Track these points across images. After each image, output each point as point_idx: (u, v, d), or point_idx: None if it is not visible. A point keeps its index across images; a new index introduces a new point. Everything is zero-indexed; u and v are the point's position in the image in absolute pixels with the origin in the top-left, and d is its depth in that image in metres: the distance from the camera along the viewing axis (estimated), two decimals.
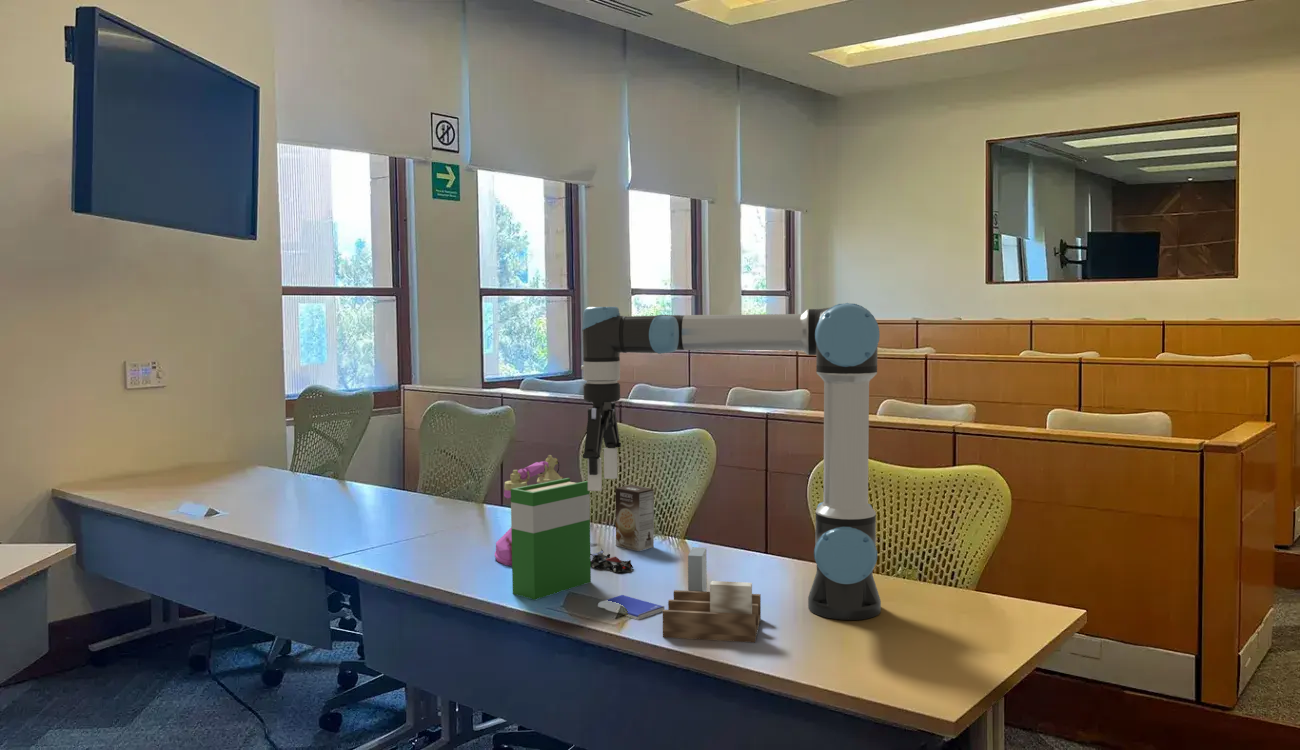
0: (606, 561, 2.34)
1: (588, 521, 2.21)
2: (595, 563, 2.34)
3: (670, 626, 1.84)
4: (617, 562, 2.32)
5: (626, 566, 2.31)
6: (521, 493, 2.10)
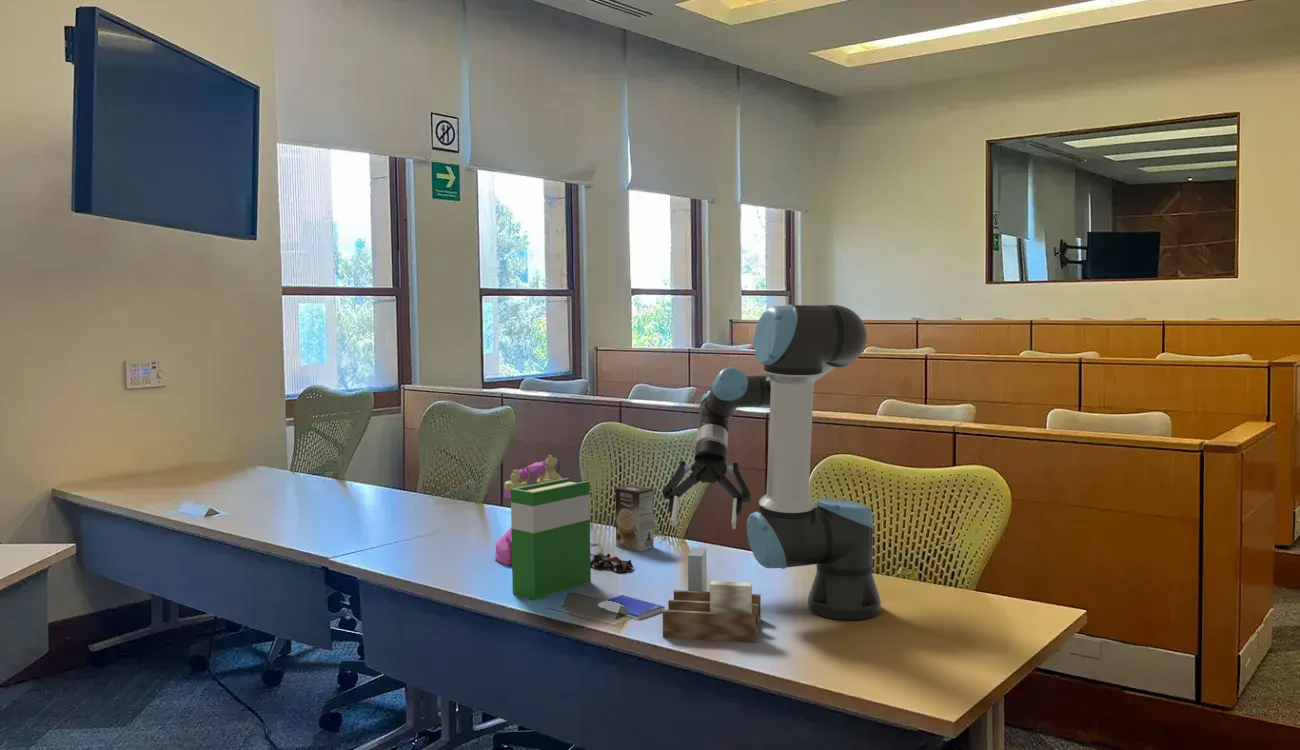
0: (606, 561, 2.34)
1: (588, 521, 2.21)
2: (595, 563, 2.34)
3: (670, 626, 1.84)
4: (617, 562, 2.32)
5: (627, 566, 2.31)
6: (521, 493, 2.10)
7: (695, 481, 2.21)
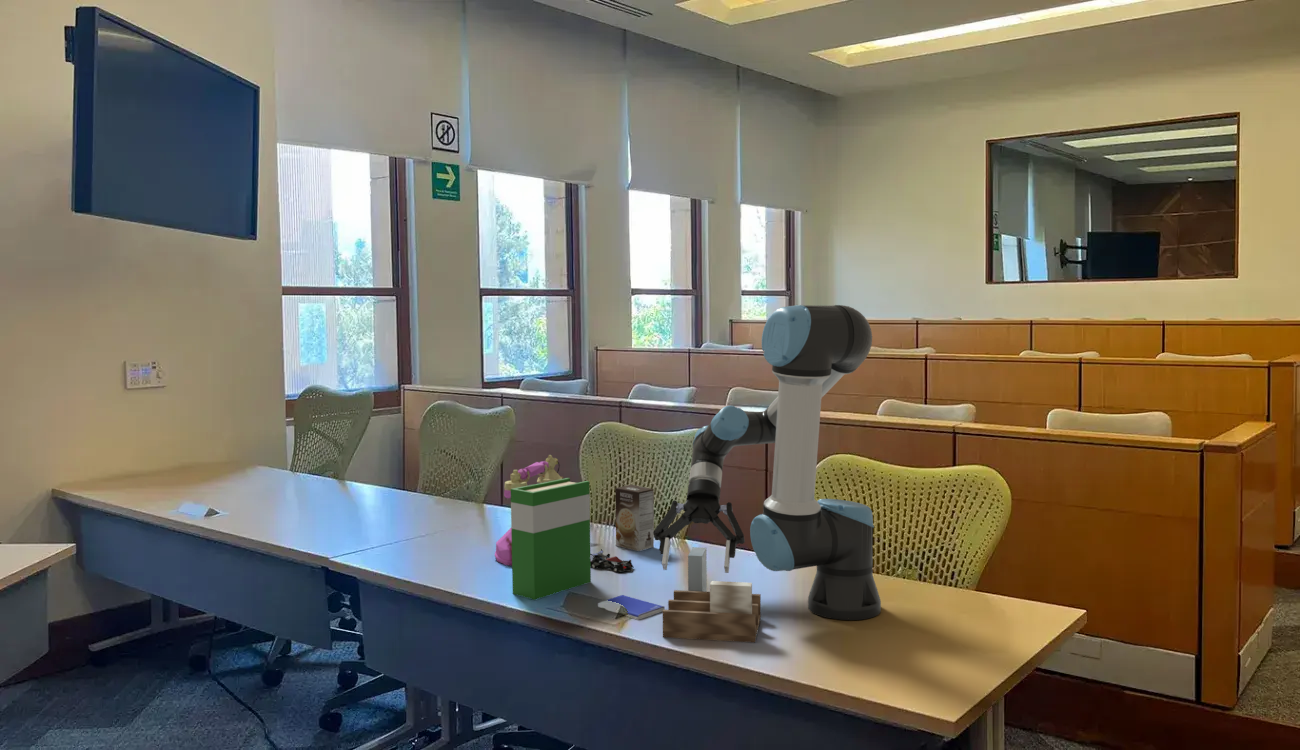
0: (606, 561, 2.34)
1: (588, 521, 2.21)
2: (595, 563, 2.34)
3: (670, 626, 1.84)
4: (618, 562, 2.32)
5: (627, 566, 2.31)
6: (521, 493, 2.10)
7: (687, 522, 2.13)
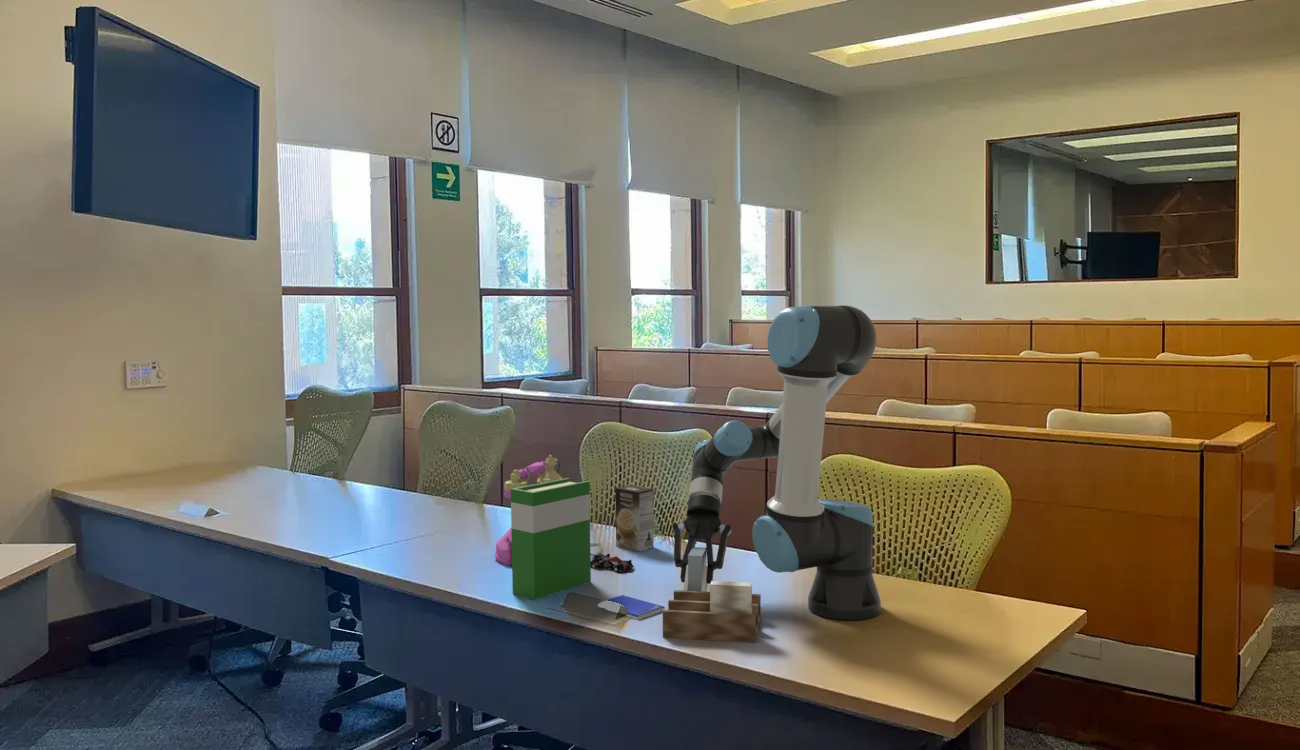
0: (607, 561, 2.34)
1: (588, 521, 2.21)
2: (596, 563, 2.34)
3: (670, 626, 1.84)
4: (618, 562, 2.33)
5: (627, 566, 2.31)
6: (521, 493, 2.10)
7: (695, 540, 2.09)
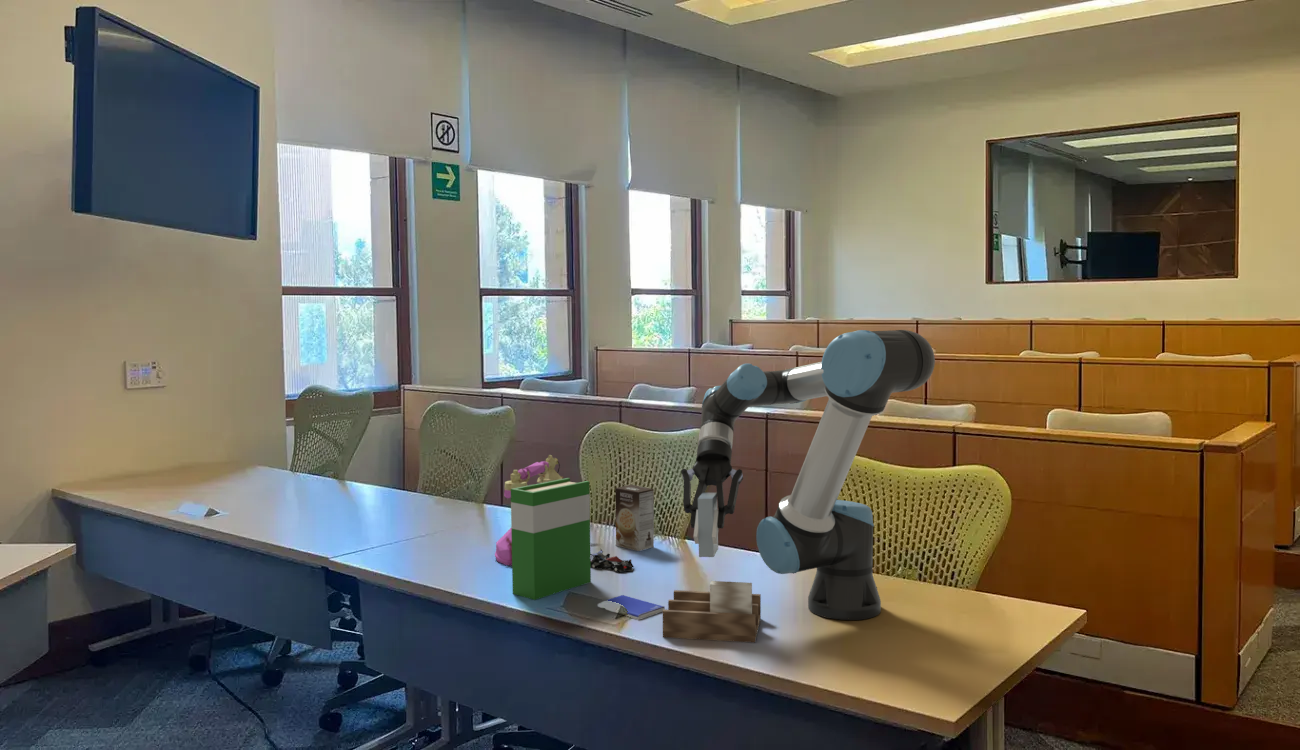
0: (606, 561, 2.34)
1: (588, 521, 2.21)
2: (595, 563, 2.34)
3: (670, 626, 1.84)
4: (618, 562, 2.33)
5: (627, 565, 2.31)
6: (521, 493, 2.10)
7: (705, 486, 2.01)
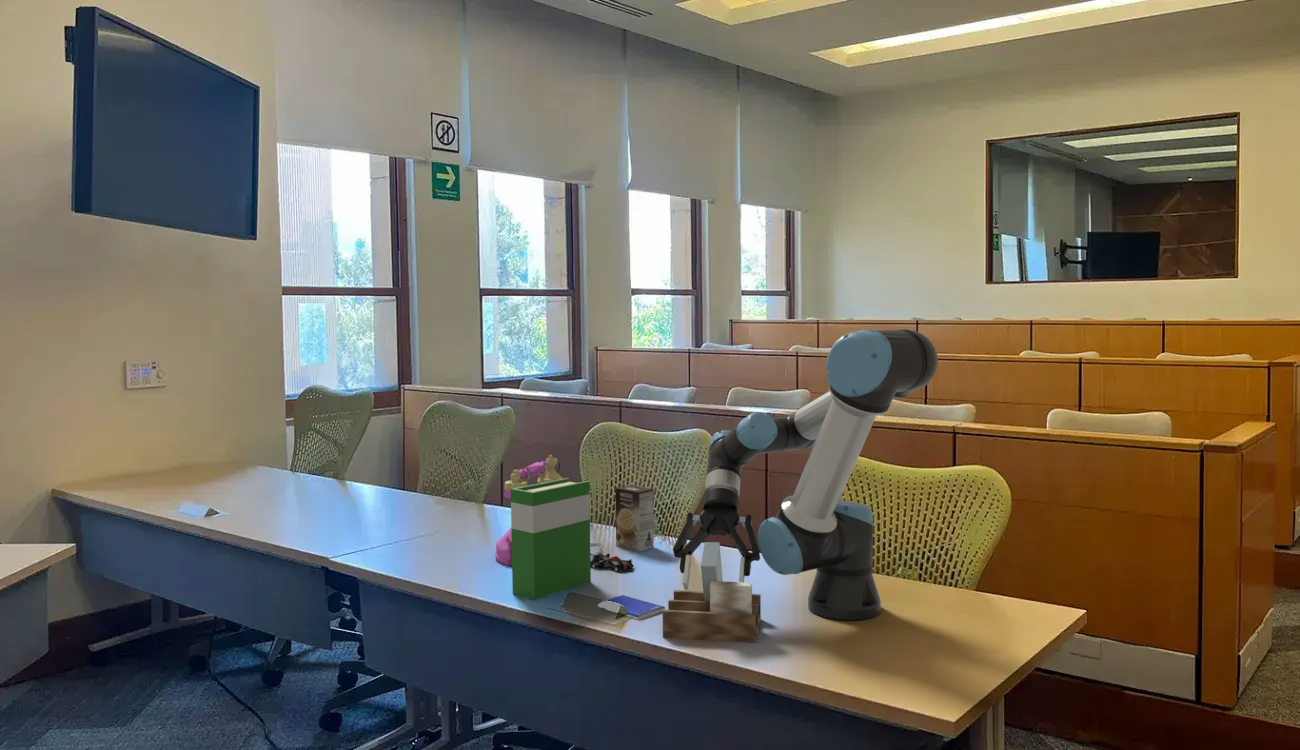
0: (607, 561, 2.34)
1: (588, 521, 2.21)
2: (596, 563, 2.34)
3: (670, 626, 1.84)
4: (618, 561, 2.33)
5: (627, 565, 2.32)
6: (521, 493, 2.10)
7: (706, 534, 1.99)
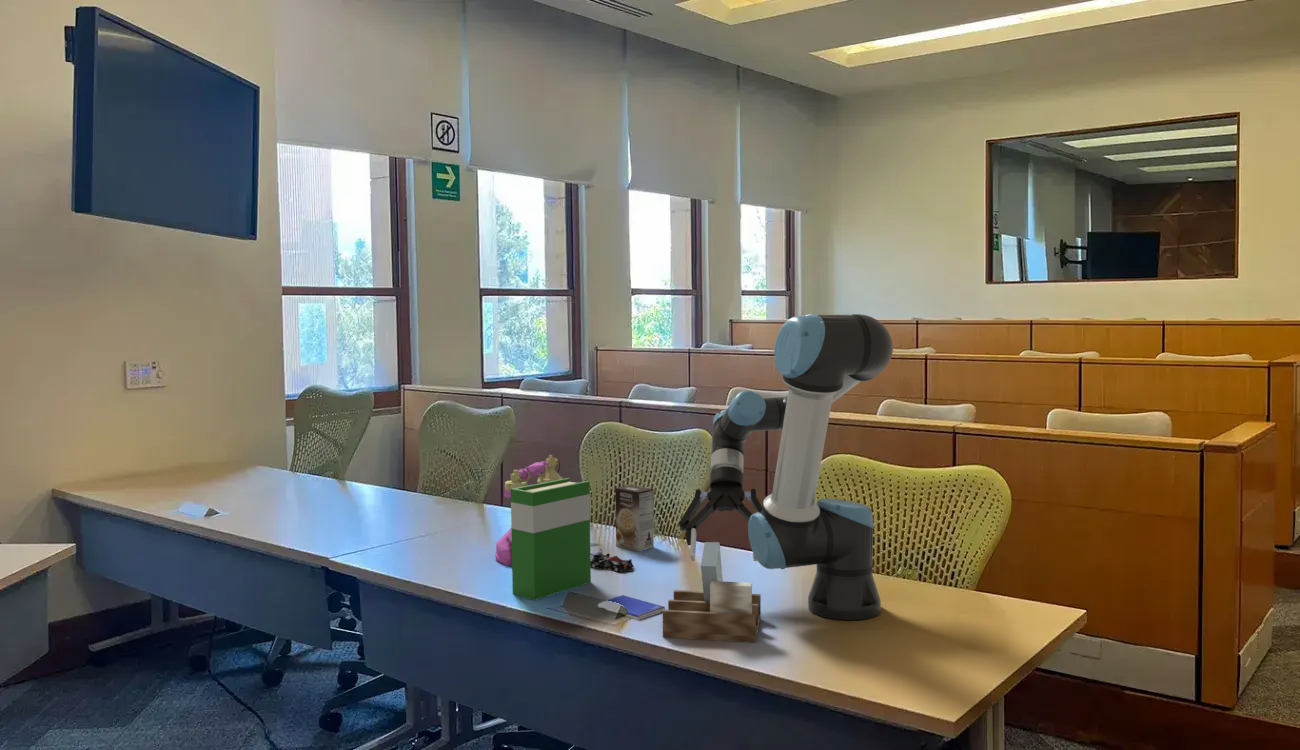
0: (607, 561, 2.34)
1: (588, 521, 2.21)
2: (596, 563, 2.34)
3: (670, 626, 1.84)
4: (618, 561, 2.33)
5: (627, 565, 2.32)
6: (521, 493, 2.10)
7: (712, 510, 2.12)
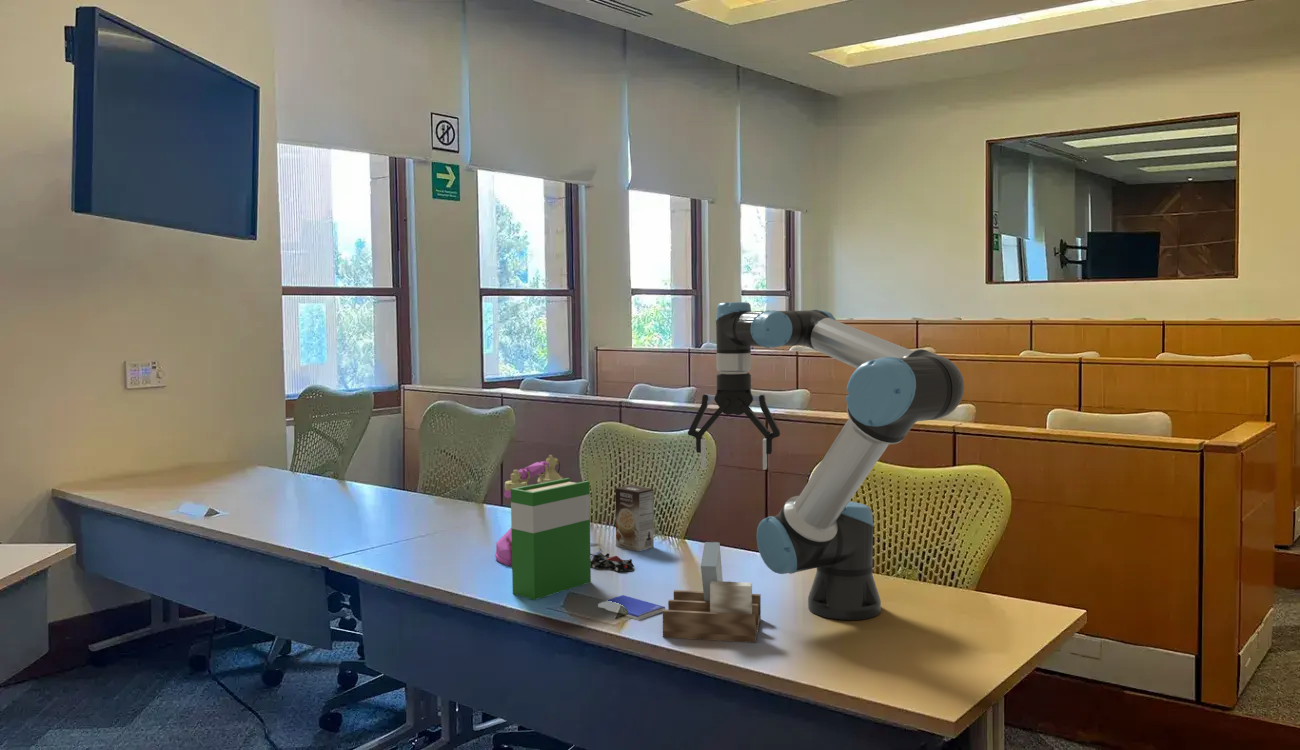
0: (607, 561, 2.34)
1: (588, 521, 2.21)
2: (596, 563, 2.34)
3: (670, 626, 1.84)
4: (618, 561, 2.33)
5: (628, 565, 2.32)
6: (521, 493, 2.10)
7: (720, 414, 2.10)
